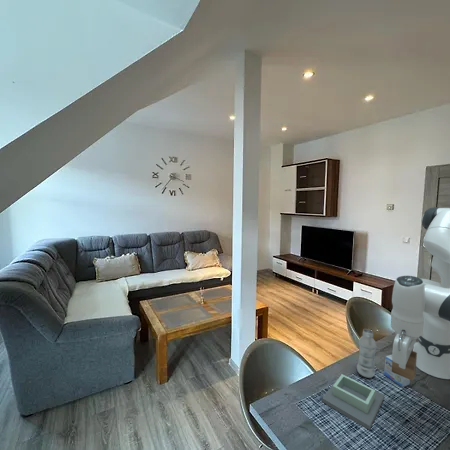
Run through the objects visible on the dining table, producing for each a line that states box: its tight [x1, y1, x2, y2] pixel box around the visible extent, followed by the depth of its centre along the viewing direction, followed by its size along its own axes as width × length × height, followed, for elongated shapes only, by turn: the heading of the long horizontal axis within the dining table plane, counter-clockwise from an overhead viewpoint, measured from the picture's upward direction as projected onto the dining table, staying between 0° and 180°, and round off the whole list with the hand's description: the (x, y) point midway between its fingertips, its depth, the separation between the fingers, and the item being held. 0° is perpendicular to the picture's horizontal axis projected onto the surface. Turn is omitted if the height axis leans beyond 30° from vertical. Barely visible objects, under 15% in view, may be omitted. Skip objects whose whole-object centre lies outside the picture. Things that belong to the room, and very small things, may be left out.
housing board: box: [321, 373, 385, 431], centre depth 93 cm, size 18×16×5 cm
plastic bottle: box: [356, 328, 378, 379], centre depth 105 cm, size 6×7×20 cm
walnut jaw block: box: [392, 350, 417, 381], centre depth 84 cm, size 4×6×8 cm, turn 44°
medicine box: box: [383, 354, 411, 388], centre depth 103 cm, size 8×4×9 cm, turn 21°
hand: (404, 363), depth 84 cm, fingers closed on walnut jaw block, 4 cm apart
